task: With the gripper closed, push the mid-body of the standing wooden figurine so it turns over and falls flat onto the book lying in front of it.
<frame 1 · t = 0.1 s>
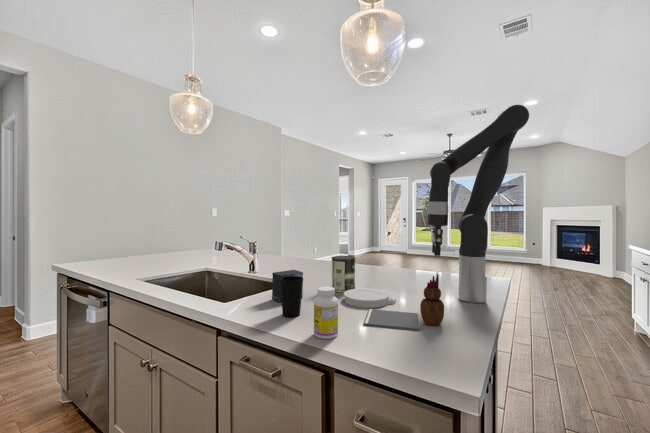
hand: (435, 254, 123), 17 cm above the worktop, tool pointing down, fingers open, 8 cm apart
small box: (287, 299, 120), on the worktop
lid: (369, 302, 118), on the worktop
book: (391, 319, 97), on the worktop
cup: (291, 315, 101), on the worktop
coffee can: (343, 290, 135), on the worktop
supplement bottle: (325, 335, 85), on the worktop
wooden figurine: (432, 324, 94), on the worktop
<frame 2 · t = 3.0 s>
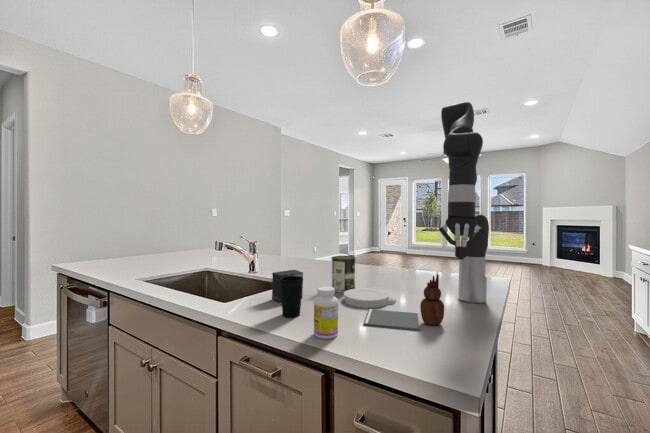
hand: (460, 259, 92), 20 cm above the worktop, tool pointing down, fingers closed
nothing on the worktop moved.
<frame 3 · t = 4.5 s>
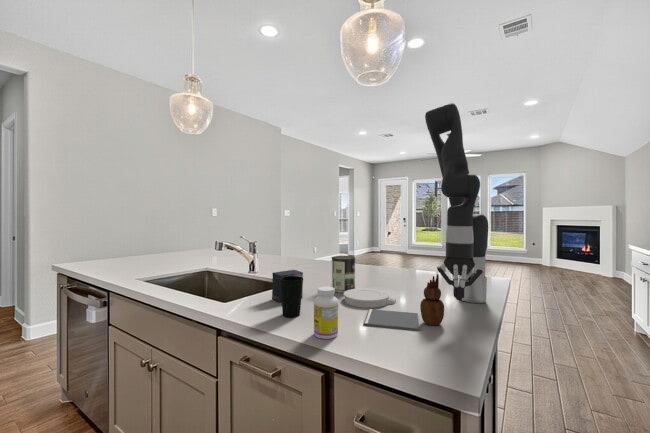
hand: (458, 299, 92), 8 cm above the worktop, tool pointing down, fingers closed
nothing on the worktop moved.
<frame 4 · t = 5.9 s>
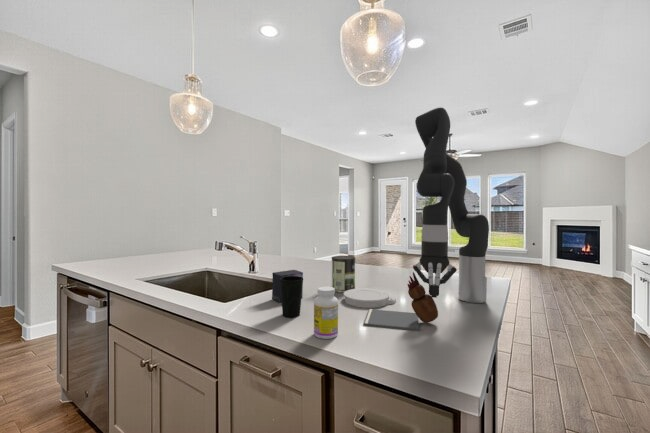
hand: (433, 296, 94), 8 cm above the worktop, tool pointing down, fingers closed
wooden figurine: (431, 320, 94), point 1 cm above the worktop, touching gripper
everything else where it was.
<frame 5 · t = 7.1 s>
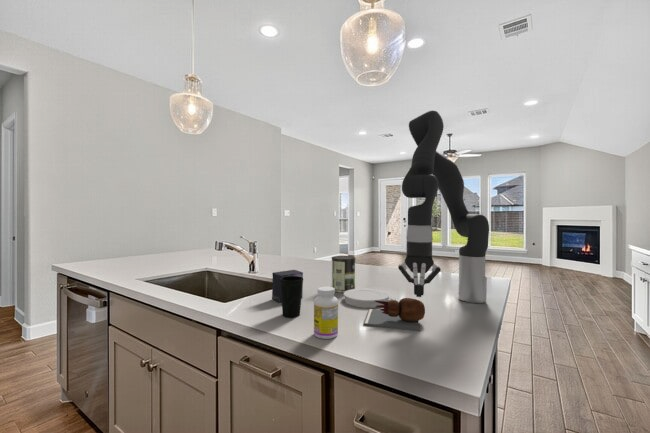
hand: (418, 296, 95), 8 cm above the worktop, tool pointing down, fingers closed
wooden figurine: (424, 310, 95), point 4 cm above the worktop, touching book
everything else where it was.
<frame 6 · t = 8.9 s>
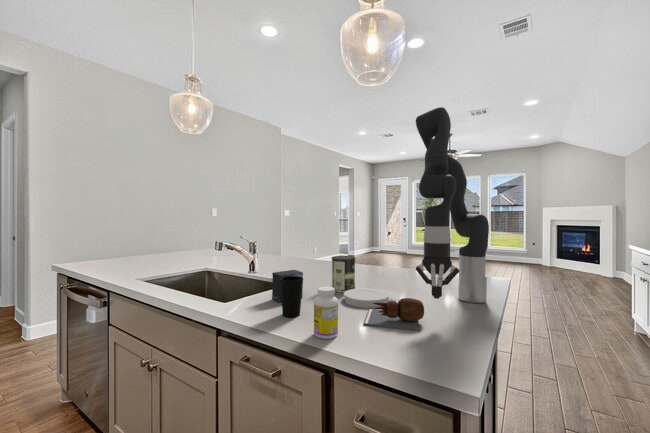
hand: (436, 297, 94), 8 cm above the worktop, tool pointing down, fingers closed
nothing on the worktop moved.
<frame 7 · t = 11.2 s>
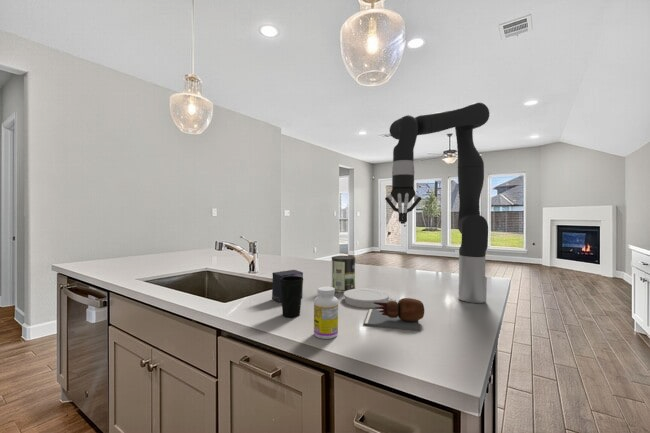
hand: (402, 223, 110), 30 cm above the worktop, tool pointing down, fingers closed
nothing on the worktop moved.
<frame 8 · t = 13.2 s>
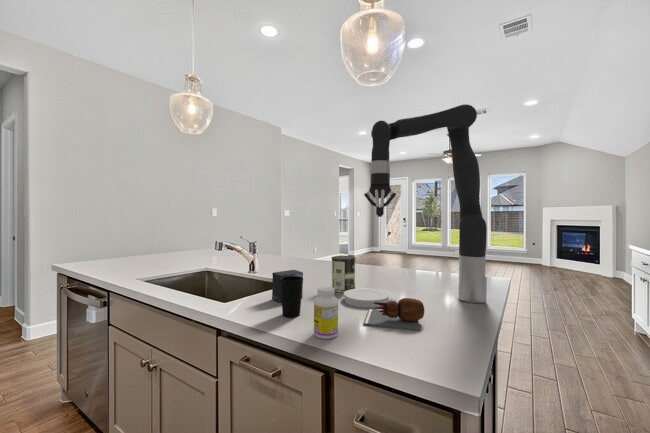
hand: (379, 216, 123), 32 cm above the worktop, tool pointing down, fingers closed
nothing on the worktop moved.
at the end: wooden figurine tilted 90°; wooden figurine inside the target area on the book (8.5 cm from its centre), point 4.0 cm above the book's base; the gripper is holding nothing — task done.
